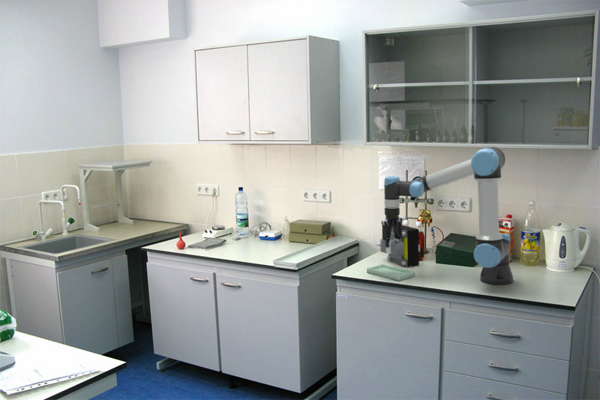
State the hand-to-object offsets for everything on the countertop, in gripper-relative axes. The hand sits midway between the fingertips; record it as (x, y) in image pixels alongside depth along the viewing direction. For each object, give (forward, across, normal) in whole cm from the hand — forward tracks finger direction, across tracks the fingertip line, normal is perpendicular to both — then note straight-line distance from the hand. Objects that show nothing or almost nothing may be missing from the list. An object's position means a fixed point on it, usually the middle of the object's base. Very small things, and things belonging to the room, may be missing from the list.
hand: (392, 252), depth 285 cm
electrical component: (+12, -22, -12) cm, 28 cm away
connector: (0, 0, -2) cm, 2 cm away
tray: (+12, 0, -1) cm, 12 cm away
